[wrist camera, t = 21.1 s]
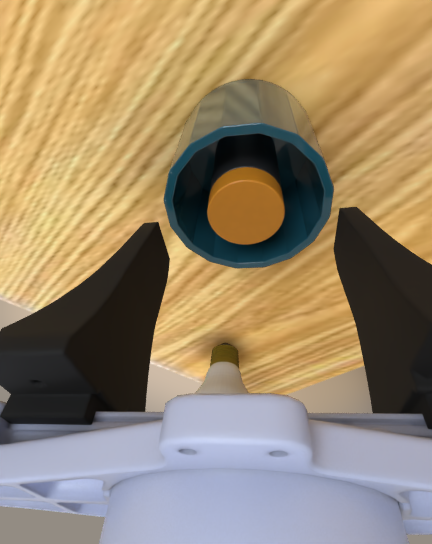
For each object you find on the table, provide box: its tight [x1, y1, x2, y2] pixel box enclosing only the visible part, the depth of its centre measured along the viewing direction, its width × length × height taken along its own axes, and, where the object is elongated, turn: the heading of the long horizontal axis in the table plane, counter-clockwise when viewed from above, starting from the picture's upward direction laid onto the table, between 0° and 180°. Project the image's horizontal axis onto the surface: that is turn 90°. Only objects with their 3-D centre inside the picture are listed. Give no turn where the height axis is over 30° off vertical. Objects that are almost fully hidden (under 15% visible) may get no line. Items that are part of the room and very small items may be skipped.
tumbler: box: [164, 79, 334, 268], centre depth 17 cm, size 7×7×6 cm
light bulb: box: [195, 343, 249, 394], centre depth 30 cm, size 6×6×10 cm
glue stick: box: [207, 133, 285, 245], centre depth 16 cm, size 3×3×6 cm
